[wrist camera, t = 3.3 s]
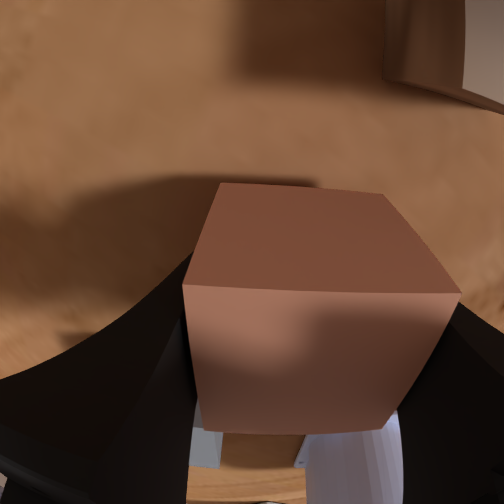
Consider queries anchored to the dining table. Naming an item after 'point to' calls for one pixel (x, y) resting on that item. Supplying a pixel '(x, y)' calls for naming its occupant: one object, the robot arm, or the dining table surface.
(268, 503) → the supplement box
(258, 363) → the terracotta block
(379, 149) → the dining table surface
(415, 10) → the walnut block
